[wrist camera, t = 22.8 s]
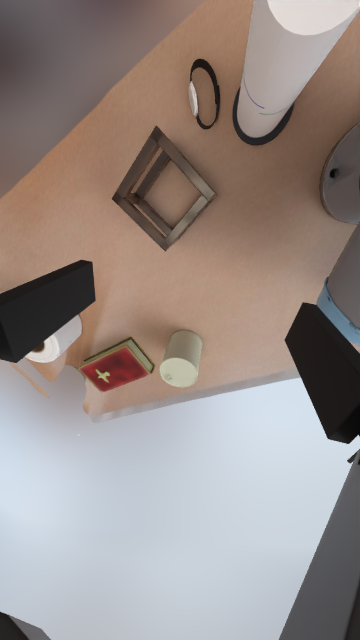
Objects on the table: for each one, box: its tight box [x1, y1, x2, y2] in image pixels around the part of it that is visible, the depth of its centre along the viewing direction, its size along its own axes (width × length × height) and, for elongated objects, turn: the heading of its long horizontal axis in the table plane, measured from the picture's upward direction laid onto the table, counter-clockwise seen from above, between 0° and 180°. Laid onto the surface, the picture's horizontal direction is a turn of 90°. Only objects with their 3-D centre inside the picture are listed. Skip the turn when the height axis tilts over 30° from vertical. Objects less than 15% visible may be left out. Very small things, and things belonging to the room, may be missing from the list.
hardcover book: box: [78, 337, 155, 393], centre depth 65 cm, size 12×21×4 cm, turn 123°
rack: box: [112, 126, 217, 251], centre depth 37 cm, size 12×12×10 cm
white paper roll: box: [25, 315, 82, 363], centre depth 57 cm, size 16×15×11 cm
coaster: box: [233, 86, 294, 145], centre depth 33 cm, size 9×9×1 cm
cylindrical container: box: [237, 0, 360, 138], centre depth 22 cm, size 7×7×25 cm
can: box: [159, 330, 202, 387], centre depth 53 cm, size 9×9×12 cm
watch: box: [189, 59, 220, 129], centre depth 32 cm, size 8×5×4 cm, turn 17°
